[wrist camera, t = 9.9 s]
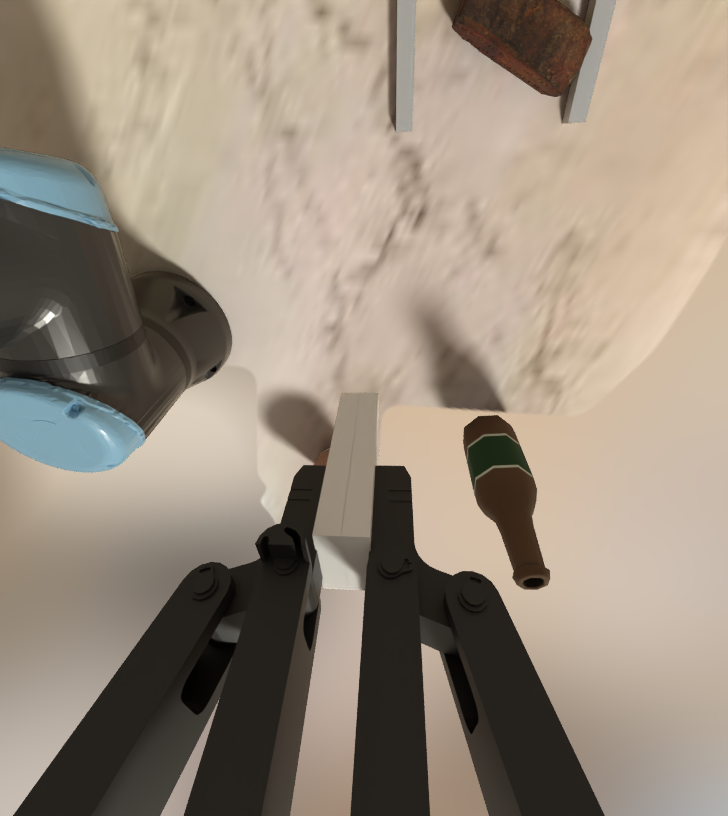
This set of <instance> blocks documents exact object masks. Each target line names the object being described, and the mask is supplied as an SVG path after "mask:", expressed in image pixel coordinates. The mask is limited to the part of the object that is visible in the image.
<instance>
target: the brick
mask: <svg viewBox="0 0 728 816" xmlns="http://www.w3.org/2000/svg"><path fill="white" fill-rule="evenodd" d="M452 28H453V30H454V31H455V32H457V33H458V34H459V35H460V36H461V37H462V39H464V40H466V41H468V42H470V43H471V45H473V46H474V47H475V48H477V49H478V50H479V51H480V52H481V53H483V54H484V55H486V56H487V57H489V58H490V59H491V60H493V61H494V62H495V63H497V64H499V65H500V66H502V67H503V68H505V69H506V70H508V71H509V72H511V73H512V74H513V75H515V76H516V77H518V78H519V79H521V80H522V81H524V82H525V83H526V84H528V85H529V86H531V87H532V88H534V89H535V90H537V91H538V92H540V93H541V94H545V95H549V96H553V97H558V96H559V95H560V96H561V95H562V94H563V92H564V91H565V90H566V89H567V87H568V86H569V84H570V83H571V81H572V80H573V78H574V77H575V76H576V74H577V73H578V72H579V71H580V68H581V67H582V64H583V61H584V58H585V56H586V54H587V52H588V49H589V47H590V45H591V42H592V36H591V34H590V27H589V26H588V25H587V24H586V23H585V22H584V21H583V20H582V19H580V18H579V17H578V16H577V15H575V14H574V13H572V12H571V11H570V10H569V9H568V8H567V7H565V6H564V5H562V4H561V3H560V2H558V1H557V0H462V2H461V5H460V7H459V9H458V12H457V14H456V17H455V19H454V21H453V25H452Z"/></svg>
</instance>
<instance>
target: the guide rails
mask: <svg viewBox="0 0 728 816" xmlns="http://www.w3.org/2000/svg"><path fill="white" fill-rule="evenodd" d="M615 4H616V0H589V5H588V9H587V14H586V18H585V23H586V24H587V25H588V26H589V27H590V34H591V36H592V42H591V45H590V47H589V49H588V52H587V54H586V56H585V58H584V61H583V64H582V67H581V68H580V71H579V72H578V73H577V74H576V76H575V77H574V78H573V80H572V81H571V85H570V90H569V94H568V99H567V103H566V108H565V112H564V117H563V121H562V123H580V122H586V118H587V114H588V110H589V106H590V102H591V98H592V94H593V90H594V86H595V82H596V78H597V75H598V71H599V67H600V63H601V59H602V55H603V51H604V47H605V43H606V39H607V35H608V31H609V27H610V23H611V19H612V15H613V11H614V7H615ZM415 22H416V0H397V76H396V132H409V131H412V120H413V88H414V55H415Z"/></svg>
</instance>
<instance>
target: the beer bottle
mask: <svg viewBox="0 0 728 816" xmlns="http://www.w3.org/2000/svg"><path fill="white" fill-rule="evenodd" d="M463 443H464V450H465V455H466V459H467V463H468V468H469V472H470V477H471V481H472V485H473V490H474V494H475V497H476V501H477V504H478V506H479V507H480V509H481V510H482V511H483V513H484V514H485V515H486V516H487V517H489V518H490V519H491V520H493V521H494V522H495V523H496V525H497V527H498V529H499V531H500V533H501V535H502V539H503V542H504V544H505V547H506V550H507V553H508V556H509V559H510V562H511V565H512V567H513V570H514V573H513V579H514V580H515V582H516V584H517V585H518V586H520V587H521V588H523V589H532V590H533V589H534V590H535V589H536V590H537V589H540V588H542V587H545V586H547V585H548V583H549V580H550V570H549V569H547V568H545V565H544V562H543V558H542V555H541V551H540V548H539V544H538V540H537V537H536V534H535V530H534V527H533V520H532V515H533V512H534V508H535V503H536V495H537V488H536V485H535V481H534V478H533V476H532V473H531V471H530V468H529V466H528V463H527V461H526V459H525V456H524V454H523V451H522V449H521V446H520V444H519V442H518V439H517V437H516V434H515V432H514V430H513V428H512V427H511V425H510V424H508V423H507V422H506V421H504V420H503V419H502V418H500V417H499V416H498V415H494V416H478V417H477V418H476V419H474V420H473V421H472V422H471V423H469V424H468V425H467V426H465V428H464V440H463Z"/></svg>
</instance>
